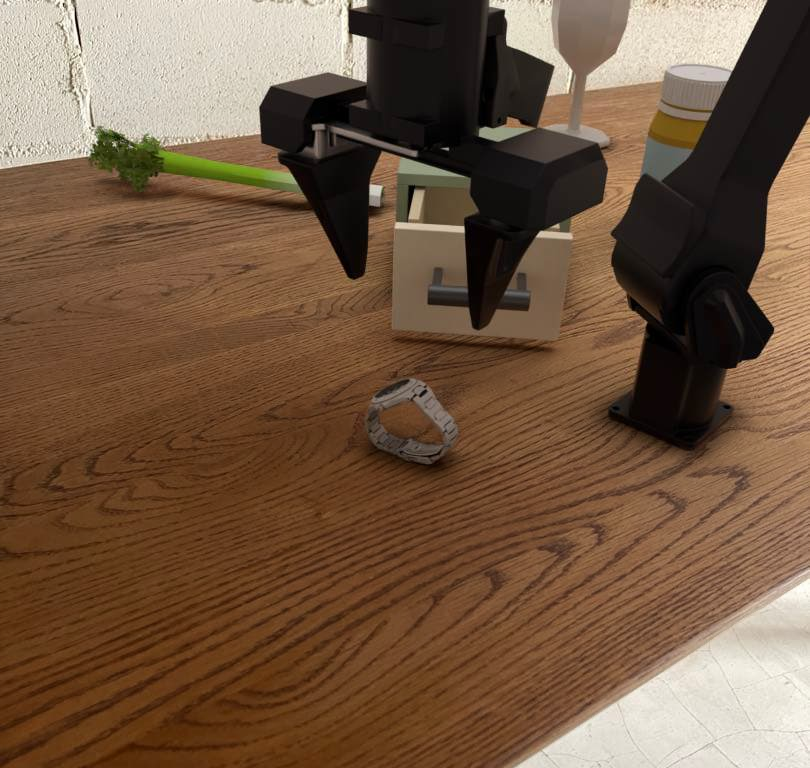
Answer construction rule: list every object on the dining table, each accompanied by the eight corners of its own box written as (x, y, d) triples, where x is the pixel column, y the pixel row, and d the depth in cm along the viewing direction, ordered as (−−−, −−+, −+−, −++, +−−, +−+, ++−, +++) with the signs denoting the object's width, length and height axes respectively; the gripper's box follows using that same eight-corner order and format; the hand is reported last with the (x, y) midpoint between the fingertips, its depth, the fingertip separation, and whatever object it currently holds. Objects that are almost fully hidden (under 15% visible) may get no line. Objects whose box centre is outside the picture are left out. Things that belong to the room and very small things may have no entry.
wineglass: (521, 135, 113) (543, -70, 100) (582, 128, 116) (611, -71, 103) (560, 156, 107) (589, -58, 94) (622, 149, 110) (659, -60, 97)
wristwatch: (382, 427, 62) (383, 360, 58) (464, 456, 59) (470, 388, 56) (353, 452, 59) (352, 383, 56) (437, 483, 57) (442, 413, 54)
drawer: (561, 372, 66) (577, 266, 61) (385, 360, 67) (387, 254, 62) (551, 273, 79) (564, 179, 74) (405, 263, 80) (408, 169, 75)
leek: (374, 241, 90) (76, 190, 92) (384, 224, 96) (105, 177, 98) (381, 175, 87) (73, 123, 88) (392, 162, 93) (102, 114, 94)
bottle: (704, 264, 84) (749, 85, 75) (627, 256, 85) (660, 78, 76) (701, 236, 89) (742, 65, 80) (628, 228, 90) (660, 59, 81)
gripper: (695, -7, 43) (632, 307, 53) (392, -55, 52) (387, 220, 62) (562, 27, 36) (519, 378, 46) (241, -36, 45) (263, 269, 55)
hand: (416, 301), depth 53 cm, fingers open, 9 cm apart
